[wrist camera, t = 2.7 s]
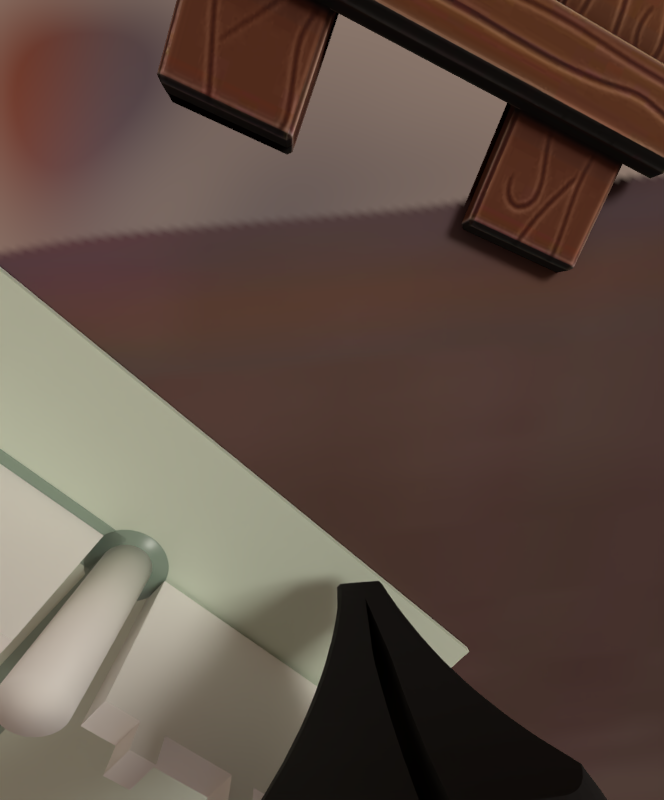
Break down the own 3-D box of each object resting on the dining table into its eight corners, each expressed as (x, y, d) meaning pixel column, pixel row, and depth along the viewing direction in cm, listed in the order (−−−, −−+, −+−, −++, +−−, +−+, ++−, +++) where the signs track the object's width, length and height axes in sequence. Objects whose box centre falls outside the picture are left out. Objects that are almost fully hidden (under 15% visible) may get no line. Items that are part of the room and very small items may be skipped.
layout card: (174, 911, 16) (172, 919, 16) (-454, 614, 11) (-469, 620, 11) (467, 646, 15) (469, 652, 14) (-124, 166, 10) (-134, 162, 10)
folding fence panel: (146, 599, 13) (65, 755, 8) (164, 580, 13) (91, 728, 8) (324, 718, 14) (336, 901, 10) (340, 703, 14) (360, 880, 10)
